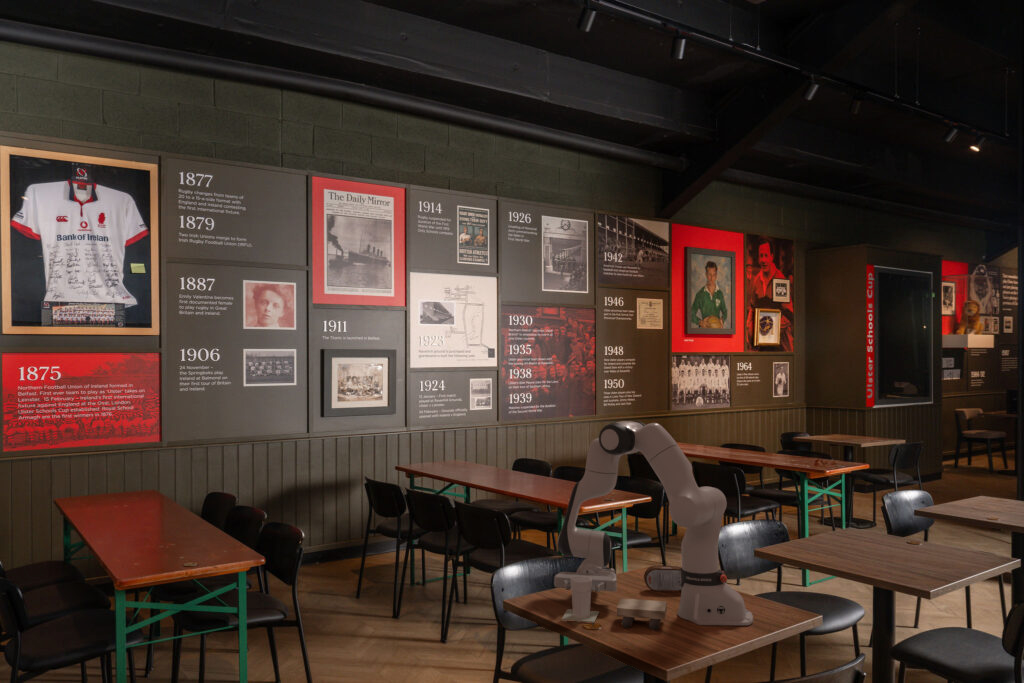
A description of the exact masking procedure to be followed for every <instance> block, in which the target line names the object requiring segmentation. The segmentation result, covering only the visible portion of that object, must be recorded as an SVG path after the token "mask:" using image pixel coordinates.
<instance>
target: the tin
mask: <svg viewBox="0 0 1024 683" xmlns="http://www.w3.org/2000/svg"><path fill="white" fill-rule="evenodd" d="M681 568H682V566H677V565H652V566H649V567H648V568H646V570H645V571H644V574H643V580H644V584H645V585H646V587H647V588H648V589H649V590H651V591H653V590H656V591H655V592H665V591H680V592H681V589H682V587H681V584H680V572H681ZM658 590H659V591H658ZM660 590H661V591H660Z"/></svg>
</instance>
